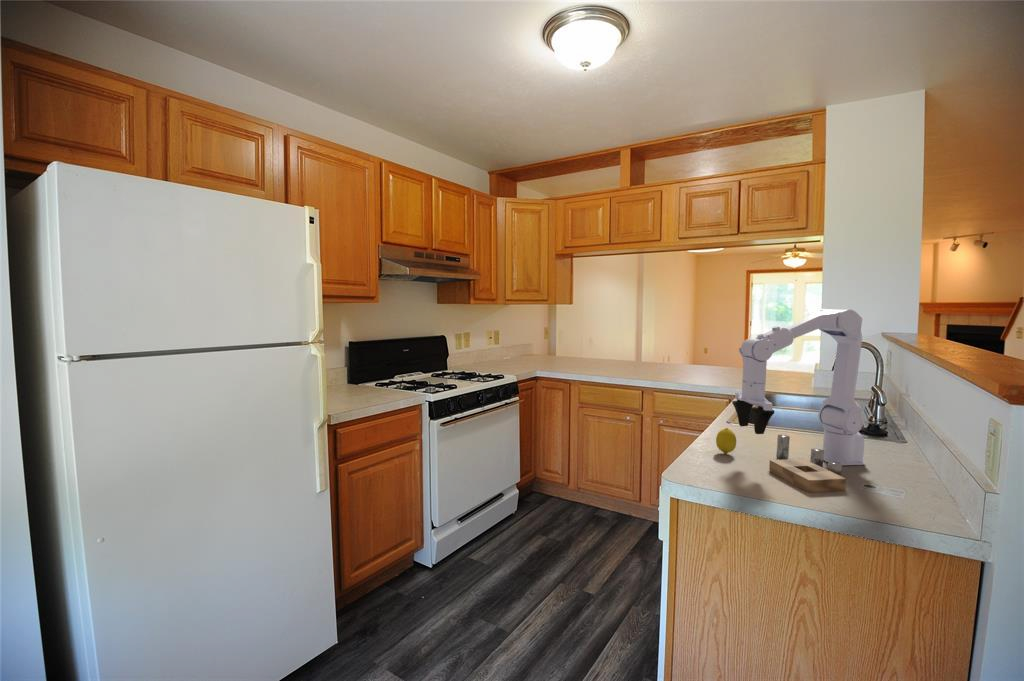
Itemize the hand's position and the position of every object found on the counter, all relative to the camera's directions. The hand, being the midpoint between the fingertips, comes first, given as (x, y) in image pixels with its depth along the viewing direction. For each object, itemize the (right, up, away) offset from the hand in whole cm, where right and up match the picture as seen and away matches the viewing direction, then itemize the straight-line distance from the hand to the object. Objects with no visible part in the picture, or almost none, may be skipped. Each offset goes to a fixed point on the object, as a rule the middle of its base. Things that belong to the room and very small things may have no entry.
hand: (751, 429), depth 129 cm
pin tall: (+12, -10, +5) cm, 16 cm away
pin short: (+18, -11, -7) cm, 22 cm away
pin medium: (+18, -10, -1) cm, 20 cm away
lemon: (-3, -9, +9) cm, 14 cm away
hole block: (+9, -11, -10) cm, 17 cm away
